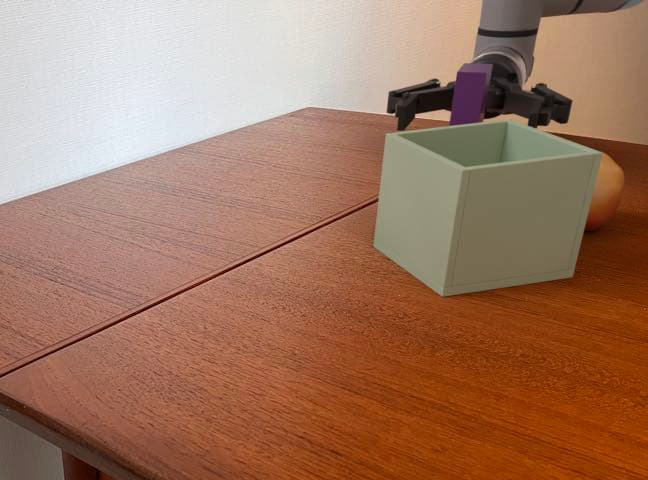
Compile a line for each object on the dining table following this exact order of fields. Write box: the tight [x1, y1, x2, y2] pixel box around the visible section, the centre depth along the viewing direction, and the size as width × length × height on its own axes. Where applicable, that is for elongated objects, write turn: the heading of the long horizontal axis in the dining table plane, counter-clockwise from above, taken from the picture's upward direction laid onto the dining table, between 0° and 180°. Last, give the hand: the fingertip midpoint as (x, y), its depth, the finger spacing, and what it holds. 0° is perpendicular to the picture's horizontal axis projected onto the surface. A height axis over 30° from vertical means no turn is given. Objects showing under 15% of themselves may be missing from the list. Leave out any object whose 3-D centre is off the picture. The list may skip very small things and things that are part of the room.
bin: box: [372, 118, 604, 298], centre depth 76 cm, size 12×12×11 cm
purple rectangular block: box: [448, 62, 493, 126], centre depth 97 cm, size 3×5×12 cm, turn 152°
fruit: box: [584, 151, 625, 232], centre depth 84 cm, size 8×8×8 cm
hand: (464, 122), depth 95 cm, fingers open, 13 cm apart
